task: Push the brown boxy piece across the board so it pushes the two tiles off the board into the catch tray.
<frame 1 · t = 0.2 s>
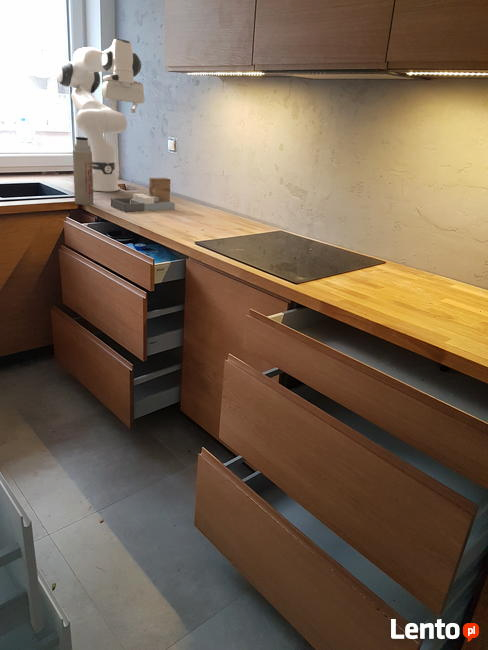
hand: (124, 111, 229), 39 cm above the worktop, tool pointing down, fingers open, 8 cm apart
board: (152, 207, 228), on the worktop
tile a: (140, 200, 226), point 3 cm above the worktop, touching board
thermos bottle: (84, 203, 223), on the worktop
brown boxy piece: (159, 200, 229), point 3 cm above the worktop, touching board
catch tray: (127, 208, 220), on the worktop
tile b: (146, 202, 222), point 3 cm above the worktop, touching board
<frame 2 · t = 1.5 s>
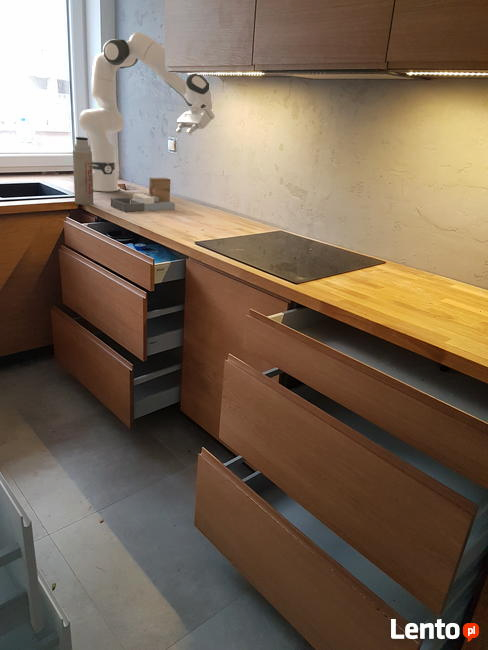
hand: (182, 132, 229), 33 cm above the worktop, tool tilted 45°, fingers open, 8 cm apart
nothing on the worktop moved.
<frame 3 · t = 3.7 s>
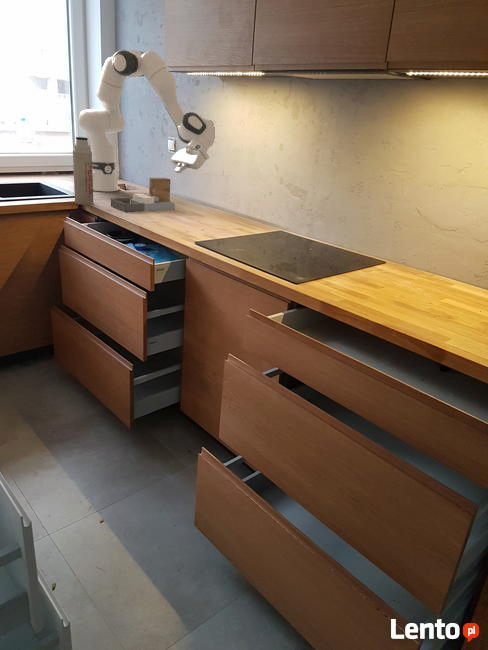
hand: (177, 172, 229), 16 cm above the worktop, tool tilted 45°, fingers closed
nothing on the worktop moved.
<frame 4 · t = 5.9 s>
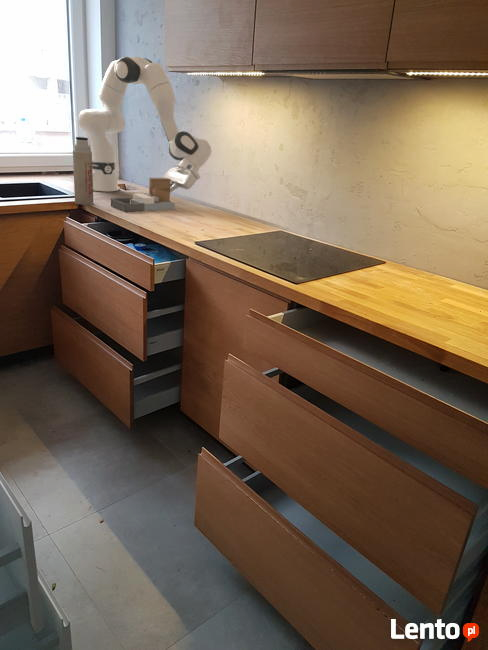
hand: (168, 191, 230), 7 cm above the worktop, tool tilted 45°, fingers closed, pressing on brown boxy piece
brown boxy piece: (159, 200, 229), point 3 cm above the worktop, touching gripper
everything else where it was.
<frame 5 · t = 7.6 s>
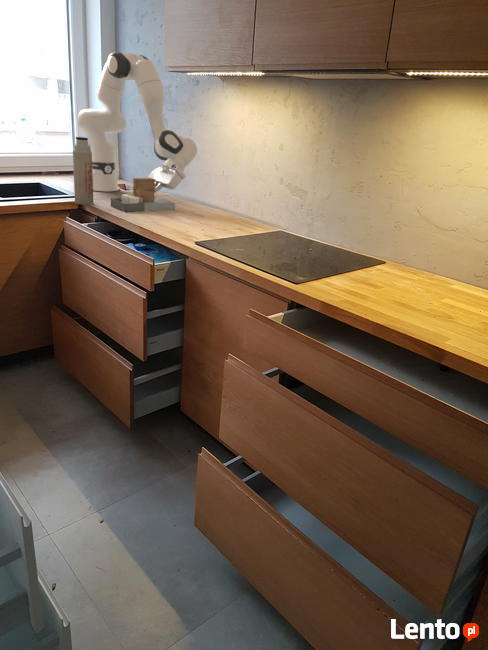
hand: (152, 191, 225), 7 cm above the worktop, tool tilted 45°, fingers closed, pressing on brown boxy piece
tile a: (129, 200, 222), point 3 cm above the worktop, tilted 90°, touching catch tray
brown boxy piece: (143, 201, 224), point 3 cm above the worktop, touching board, gripper
tile b: (136, 203, 219), point 3 cm above the worktop, tilted 90°, touching catch tray
everything else where it was.
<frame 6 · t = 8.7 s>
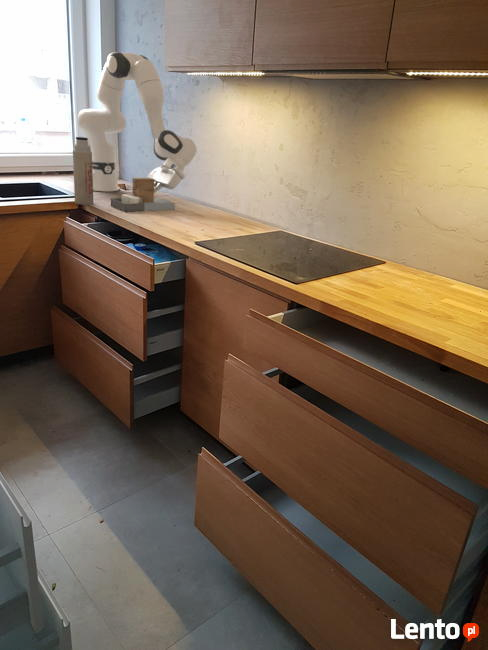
hand: (152, 191, 225), 7 cm above the worktop, tool tilted 45°, fingers closed, pressing on brown boxy piece
brown boxy piece: (143, 201, 224), point 3 cm above the worktop, touching board, gripper, tile b
tile b: (136, 203, 219), point 3 cm above the worktop, tilted 92°, touching catch tray, brown boxy piece
everything else where it was.
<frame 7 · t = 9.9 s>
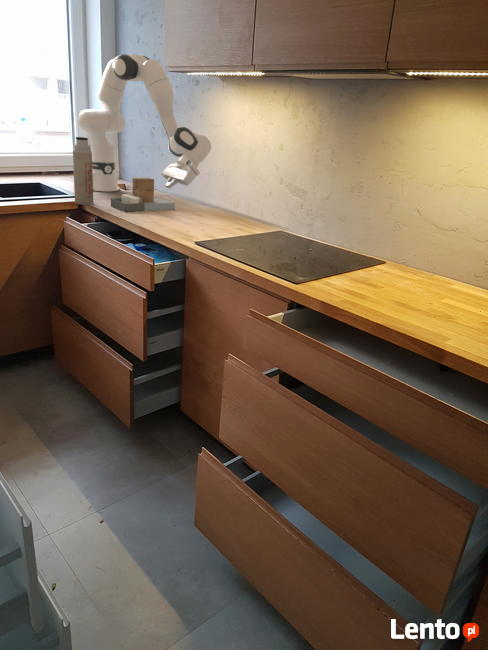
hand: (167, 186, 229), 9 cm above the worktop, tool tilted 45°, fingers closed
brown boxy piece: (143, 201, 224), point 3 cm above the worktop, touching board, tile b
everything else where it was.
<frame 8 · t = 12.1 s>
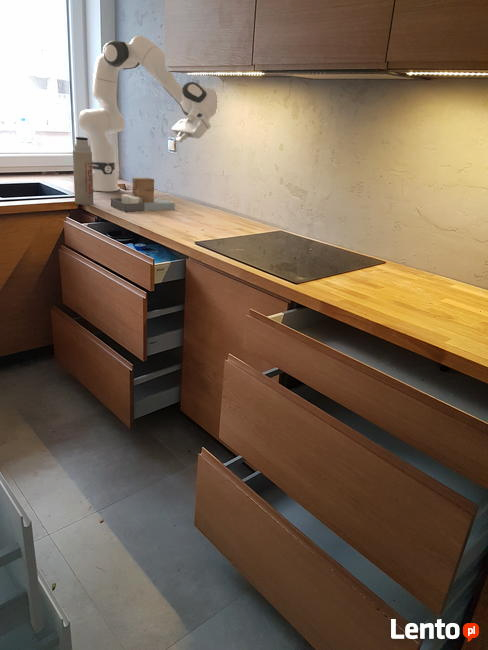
hand: (177, 141, 224), 29 cm above the worktop, tool tilted 45°, fingers closed
nothing on the worktop moved.
at the end: tile a inside the target area on the catch tray (4.1 cm from its centre), point 2.9 cm above the catch tray's base; tile b inside the target area on the catch tray (4.6 cm from its centre), point 3.0 cm above the catch tray's base; brown boxy piece tilted 0° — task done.
